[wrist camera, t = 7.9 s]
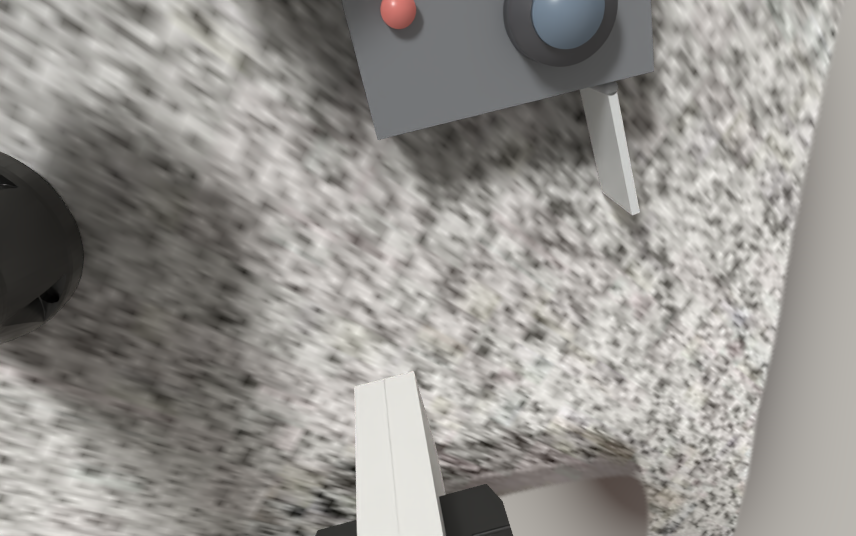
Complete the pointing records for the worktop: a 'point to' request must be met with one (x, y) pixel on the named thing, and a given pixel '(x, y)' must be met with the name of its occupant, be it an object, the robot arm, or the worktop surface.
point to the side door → (610, 144)
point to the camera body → (489, 54)
